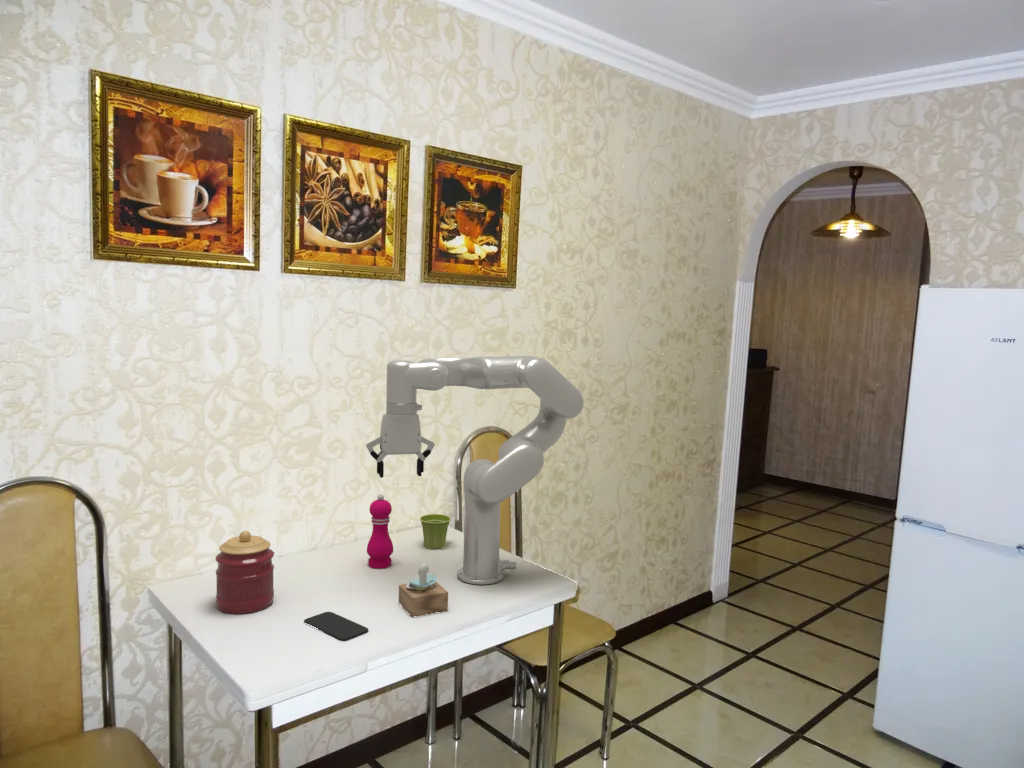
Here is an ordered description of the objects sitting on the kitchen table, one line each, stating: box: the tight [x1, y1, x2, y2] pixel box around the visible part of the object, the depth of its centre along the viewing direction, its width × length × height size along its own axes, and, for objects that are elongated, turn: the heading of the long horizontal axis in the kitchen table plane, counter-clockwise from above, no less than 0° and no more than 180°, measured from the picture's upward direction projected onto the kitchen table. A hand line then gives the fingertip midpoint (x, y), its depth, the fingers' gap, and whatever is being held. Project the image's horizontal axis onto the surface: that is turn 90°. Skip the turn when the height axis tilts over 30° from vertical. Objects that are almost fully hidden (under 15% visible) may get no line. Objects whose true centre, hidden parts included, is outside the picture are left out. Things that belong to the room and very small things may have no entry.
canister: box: [215, 530, 275, 615], centre depth 170 cm, size 13×13×18 cm
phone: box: [303, 611, 369, 642], centre depth 160 cm, size 7×1×15 cm
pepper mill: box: [366, 493, 394, 570], centre depth 199 cm, size 7×7×20 cm
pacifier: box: [406, 562, 438, 590], centre depth 172 cm, size 7×6×6 cm
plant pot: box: [419, 513, 452, 550], centre depth 217 cm, size 9×9×9 cm
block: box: [398, 581, 449, 618], centre depth 172 cm, size 9×9×5 cm
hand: (400, 475), depth 184 cm, fingers open, 9 cm apart
